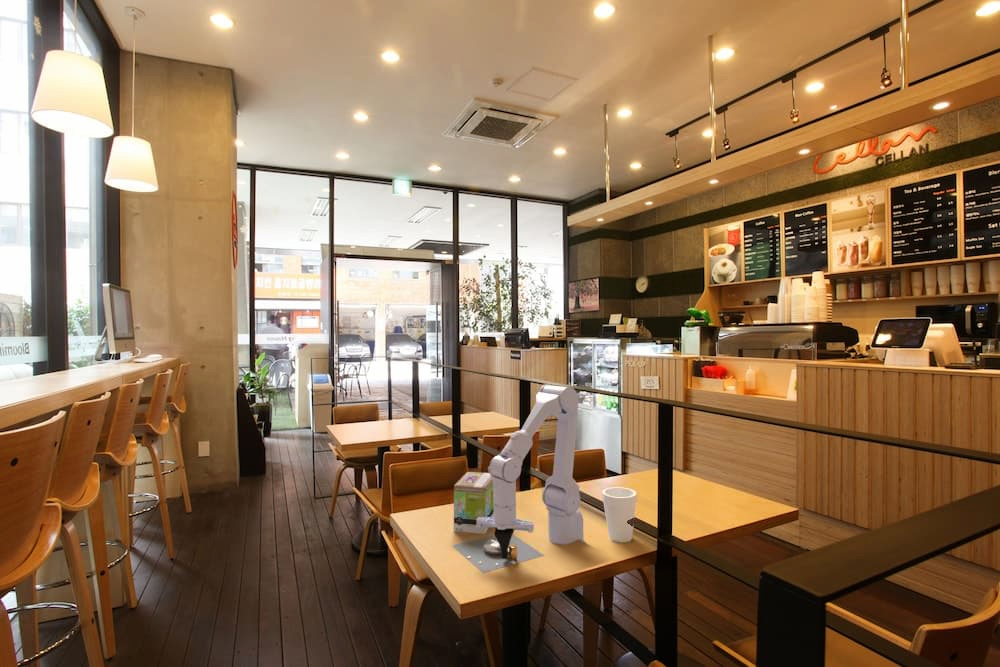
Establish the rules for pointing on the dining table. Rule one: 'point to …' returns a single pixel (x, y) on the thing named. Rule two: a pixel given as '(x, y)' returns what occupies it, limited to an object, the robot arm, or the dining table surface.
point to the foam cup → (619, 512)
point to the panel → (492, 562)
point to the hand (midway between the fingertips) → (505, 556)
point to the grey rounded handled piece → (499, 549)
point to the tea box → (473, 501)
